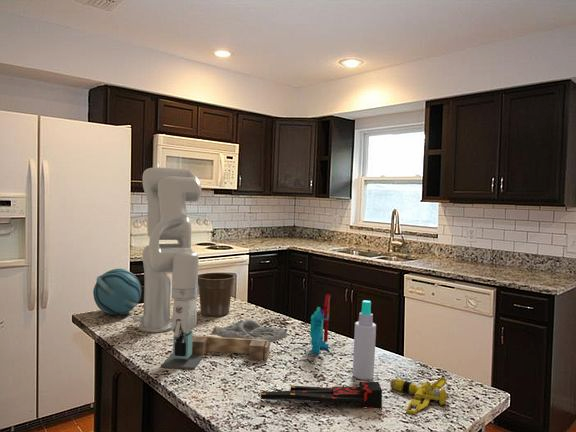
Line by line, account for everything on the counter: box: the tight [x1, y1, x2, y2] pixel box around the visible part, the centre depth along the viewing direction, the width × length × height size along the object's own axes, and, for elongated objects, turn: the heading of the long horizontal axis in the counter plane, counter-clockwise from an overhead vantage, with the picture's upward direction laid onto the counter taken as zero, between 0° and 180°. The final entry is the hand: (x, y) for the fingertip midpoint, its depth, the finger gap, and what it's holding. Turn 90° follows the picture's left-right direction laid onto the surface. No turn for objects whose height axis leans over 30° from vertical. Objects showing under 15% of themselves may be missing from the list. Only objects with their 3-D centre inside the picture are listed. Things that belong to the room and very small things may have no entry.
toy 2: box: [309, 293, 331, 355], centre depth 148 cm, size 18×6×15 cm
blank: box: [172, 330, 194, 359], centre depth 135 cm, size 4×4×7 cm
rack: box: [191, 334, 271, 362], centre depth 142 cm, size 26×7×4 cm, turn 86°
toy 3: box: [260, 381, 383, 410], centre depth 113 cm, size 8×5×30 cm
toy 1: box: [92, 268, 142, 316], centre depth 182 cm, size 18×20×20 cm
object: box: [198, 272, 236, 317], centre depth 190 cm, size 16×16×16 cm
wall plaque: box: [212, 319, 288, 344], centre depth 164 cm, size 24×19×4 cm
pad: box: [160, 352, 204, 371], centre depth 135 cm, size 10×10×1 cm
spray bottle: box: [352, 299, 377, 381], centre depth 129 cm, size 6×6×22 cm
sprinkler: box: [389, 377, 448, 415], centre depth 117 cm, size 19×4×15 cm
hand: (182, 351), depth 135 cm, fingers closed on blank, 4 cm apart
